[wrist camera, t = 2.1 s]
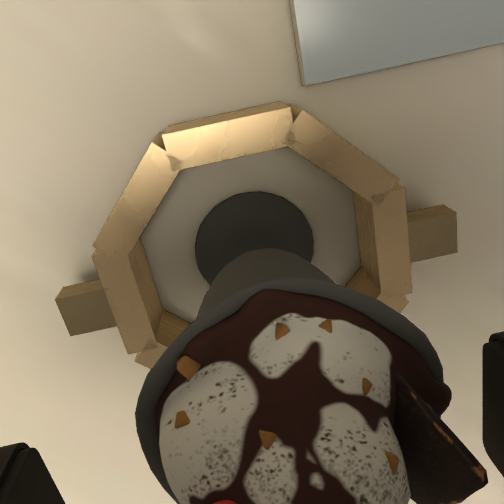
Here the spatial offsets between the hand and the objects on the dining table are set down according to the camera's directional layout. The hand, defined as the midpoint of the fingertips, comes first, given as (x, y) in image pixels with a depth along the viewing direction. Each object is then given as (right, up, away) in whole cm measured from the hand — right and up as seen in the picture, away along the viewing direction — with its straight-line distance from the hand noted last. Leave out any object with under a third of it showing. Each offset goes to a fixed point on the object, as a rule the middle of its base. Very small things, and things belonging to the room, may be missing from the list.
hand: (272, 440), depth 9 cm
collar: (0, +4, +10) cm, 10 cm away
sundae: (0, +4, +10) cm, 11 cm away
